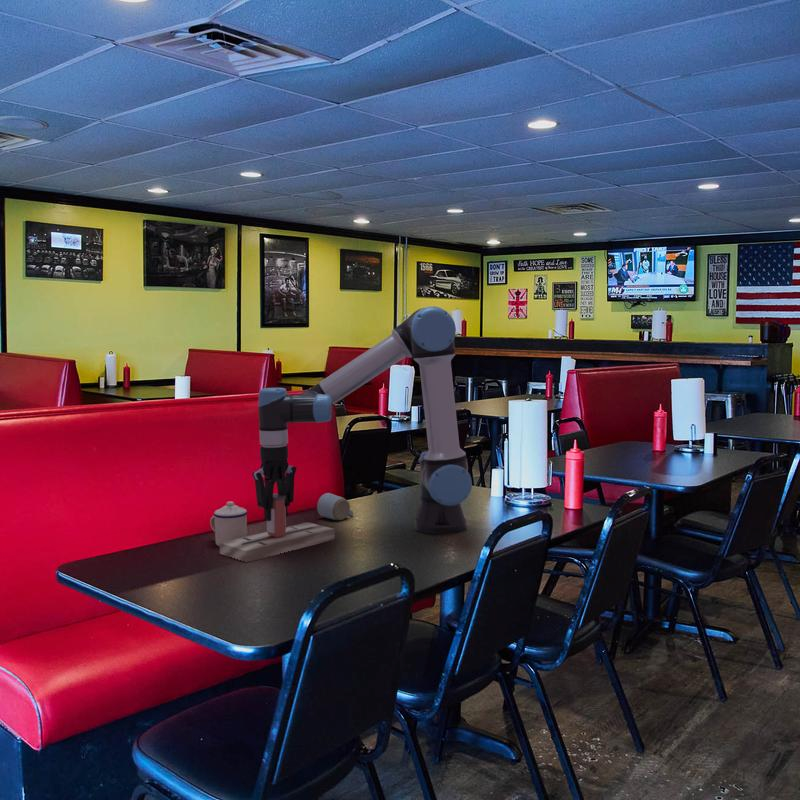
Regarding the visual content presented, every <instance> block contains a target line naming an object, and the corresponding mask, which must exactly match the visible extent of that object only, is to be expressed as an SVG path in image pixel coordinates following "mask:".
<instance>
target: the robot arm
mask: <svg viewBox="0 0 800 800" xmlns="http://www.w3.org/2000/svg"><path fill="white" fill-rule="evenodd" d="M456 327H457V326H456V323H455V320H454V318H453V316H452V315H451V314H450V313H449V312H448V311H447V310H445V309H443V308H441V307H439V306H427V307H426V306H425V307H422V308H418V309H417V310H415V311H413V313H412V314H411V315H409V316H408V317H407V318H406V319H405V320H404V321H403V322H401V323H400V324H399V325H397V326H396V327H394V328H393V329H392V331H391V334H390V335H389V336H388V337H386V338H384V339H383V340H381V341H379V342H378V343H377V344H375V345H374V346H372V347H370V348H369V349H368V350H366V351H364V352H363V353H362V354H359V356H357V357H355V358H353V359H352V360H351V361H349V362H348V363H346V364H344V365H343V366H342V367H340V368H338V370H336V371H333V373H331V374H330V375H329V376H327V377H325V378H324V379H323V380H321V381H319V382H318V383H317V384H315V385H313V386H312V387H310V388H308V389H306V390H304V391H302V392H301V393H300V394H295V395H294V394H293V395H292V394H288V392H287V389H286V388H285V387H264V388H262V389H260V390H259V391H258V406H257V407H258V425H259V426H258V427H259V431H258V432H259V445H261V446H260V447H259V456H260V457H259V458H260V461H261V465H260V469H258V470H257V471H253V472H252V474H251V475H252V477H253V480H254V486H255V494H256V495H255V496H256V505H257V507H258V508H262V509H263V513H264V514H263V517H264V521H266V532H270V533H275V512H274V509H273V508H272V501H273V494H274V488H275V484H276V489H277V494H280V495H284V496H286V499H285V530H286V527H287V521H286V520H287V517H288V507H290V505H291V503H294V497H295V496H294V495H295V478H296V477H295V475H296V472H297V467H296V466H294V465H290V464H289V462H288V459H289V446H288V444H289V434H288V432H289V431H288V429H289V428H288V424H289V423H290V424H294V423H317V424H320V423H324V422H325V423H326V422H330V421H331V420H332V406H333V405H335V404H337V403H339V401H342V400H343V399H344V398H345V397H347V396H349V395H351V393H353V392H355V391H356V390H358V389H359V388H361V387H362V386H364V385H365V384H367V383H369V381H371V380H373V379H374V378H375V377H378V376H379V375H380V374H382V373H384V372H386V371H387V370H388V369H390V368H391V367H393V366H394V365H396V364H397V363H399V362H400V361H402V360H403V359H405V358H412V360H414V361H415V362H416V363H417V364H418V366H419V372H420V373H419V374H420V375H419V376H420V381H421V392H422V393H421V395H422V401H423V403H422V404H423V411H424V420H425V429H426V438H427V447H428V451H422V452H421V453H420V456H419V461H418V463H419V465H420V466H419V470H420V471H419V472H420V473H419V474H420V479H419V480H420V483H419V484H420V486H419V487H420V490H419V491H420V503H419V507H418V510H417V512H416V518H415V519H414V529H415V531H416V532H417V531H418V532H420V533H425V534H430V535H451V534H458V533H461V532H464V531H465V530H466V529H467V520H466V517H465V515H464V514H465V513H464V512H463V508H462V504H461V503H463V502H464V501H466V500H467V498H468V497H469V495H470V493H471V492H472V491H471V490H472V487H473V481H472V476H471V474H470V472H469V470H468V463H467V454H466V451H464V450H463V449H462V448H461V446H460V440H459V438H460V437H459V429H458V428H459V427H458V420H457V409H456V401H455V400H456V399H455V391H454V382H453V371H452V359H454V357H455V356H456V346H455V337H456V333H457V328H456Z"/></svg>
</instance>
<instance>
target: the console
mask: <svg viewBox="0 0 800 800" xmlns="http://www.w3.org/2000/svg"><path fill="white" fill-rule="evenodd" d="M335 530H336V529H335V528H332V527H328V526H323V525H320V524H316V523H312V522H308V521H307V522H303V523H299V524H294V525H289V526H286V530H285V532H286V535H283V536H279V537H275V536H271V535H268V532H267V531H264V532H260V533H259V532H258V533H255V534H251V535H247V536H246V537H242V538H238V539H234V540H229V541H225V542H221V543H219V544H220V546H219V555H222V556H226V557H228V558H231V557H232V558H231V559H234V558H235V560H237V559H238V561H240V560H241V562H243V561H244V563H246V562H247V563H250V562H253V561H257V560H262V559H266V558H268V557H269V556H270V557H273V556H277V555H281V554H284V552H285V553H288V551H289V552H292V550H293V551H296V550H301V549H304V548H308V547H311V546H315V545H319V544H322V543H327V542H330V541H335V540H336V531H335ZM280 553H281V554H280ZM249 561H250V562H249Z"/></svg>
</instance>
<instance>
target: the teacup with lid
mask: <svg viewBox="0 0 800 800" xmlns="http://www.w3.org/2000/svg"><path fill="white" fill-rule="evenodd" d="M213 513H214V514H213V515H212V517H211V518H210V520H209V524H210V527H211V529H212V531H213V532H214V534H215V535H214V536H215V537H214V538H215V545H216V546H218V547H220V544H219V543H221V542H225V541H229V540H234V539H238V538H242V537H246V536H248V527H247V526H248V523H247V522H248V521H247V514H248V511H247V509H246V508H244V507H240V506H238V505H236V504H235V503H234V501H227V502H226V504H225V505H224V506H222V507H221V508H219V509H216V510H215V511H214V512H213Z"/></svg>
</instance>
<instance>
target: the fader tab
mask: <svg viewBox="0 0 800 800" xmlns="http://www.w3.org/2000/svg"><path fill="white" fill-rule="evenodd" d="M285 499H286V496H284V495H280V494H278V493H273V501H272V508H273V509H274V512H275V533H270V532H268V535H271V536H275V537H279V536H283V535H286V532H285Z"/></svg>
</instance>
